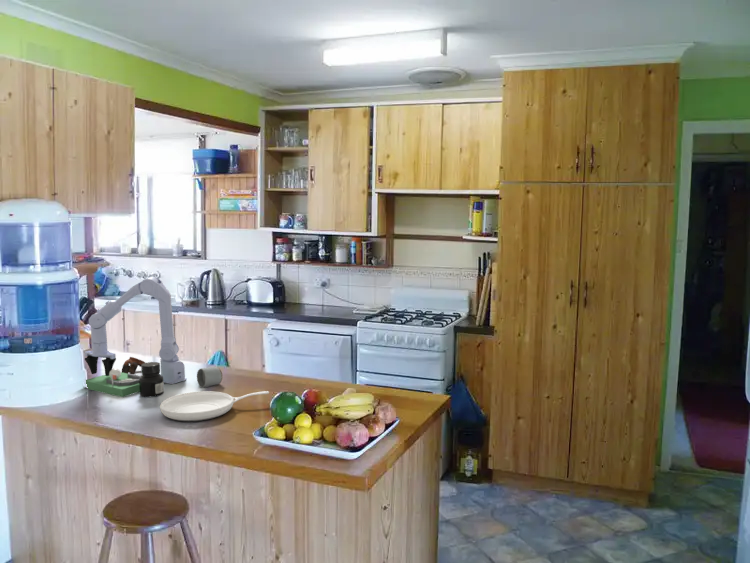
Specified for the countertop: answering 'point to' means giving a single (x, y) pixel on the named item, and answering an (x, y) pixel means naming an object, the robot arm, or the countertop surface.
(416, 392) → the countertop surface
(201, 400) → the pan
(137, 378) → the mat
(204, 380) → the ceramic mug
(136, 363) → the pottery mug
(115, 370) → the ball
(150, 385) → the ink bottle
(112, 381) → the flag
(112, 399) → the countertop surface
